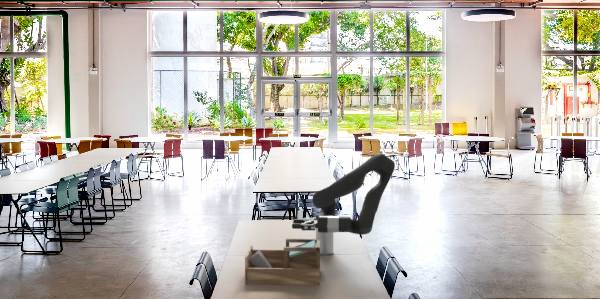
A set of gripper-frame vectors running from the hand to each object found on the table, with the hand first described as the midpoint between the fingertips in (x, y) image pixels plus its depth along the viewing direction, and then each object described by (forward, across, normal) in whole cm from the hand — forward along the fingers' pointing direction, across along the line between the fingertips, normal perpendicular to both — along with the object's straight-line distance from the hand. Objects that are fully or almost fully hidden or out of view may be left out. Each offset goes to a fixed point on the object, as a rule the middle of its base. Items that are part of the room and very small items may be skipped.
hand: (292, 223), depth 274 cm
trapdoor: (-5, 0, +12) cm, 13 cm away
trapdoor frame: (+4, 0, +25) cm, 25 cm away
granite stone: (+18, 0, +15) cm, 23 cm away
